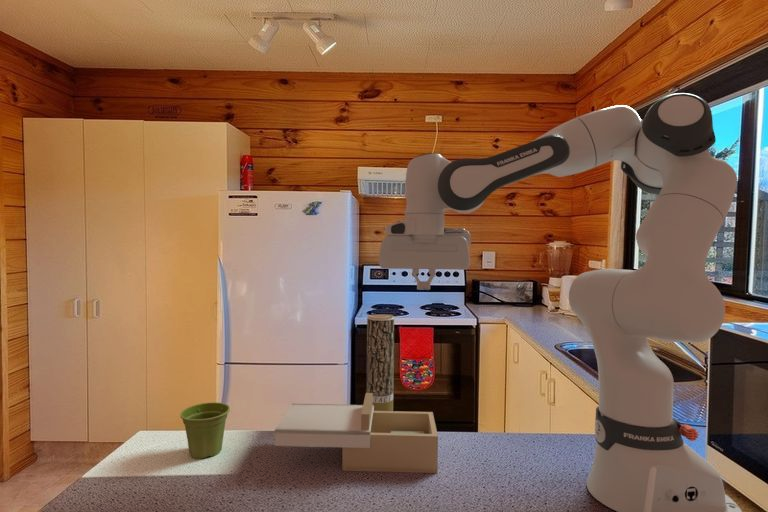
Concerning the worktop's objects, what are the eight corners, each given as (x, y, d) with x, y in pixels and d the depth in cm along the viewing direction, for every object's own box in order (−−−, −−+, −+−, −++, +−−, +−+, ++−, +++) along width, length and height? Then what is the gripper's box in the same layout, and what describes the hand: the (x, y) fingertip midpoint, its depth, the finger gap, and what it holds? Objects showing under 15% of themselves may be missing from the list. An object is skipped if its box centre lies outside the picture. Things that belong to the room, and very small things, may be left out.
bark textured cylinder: (367, 409, 114) (368, 314, 113) (393, 409, 113) (394, 314, 113) (365, 419, 107) (366, 318, 107) (392, 420, 107) (393, 318, 106)
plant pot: (212, 465, 84) (213, 421, 84) (169, 460, 86) (169, 417, 85) (238, 444, 93) (238, 404, 93) (199, 440, 95) (199, 400, 95)
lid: (373, 418, 95) (374, 391, 95) (369, 447, 81) (370, 416, 81) (292, 417, 96) (292, 389, 95) (274, 445, 82) (274, 414, 82)
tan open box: (432, 444, 94) (432, 412, 94) (437, 473, 82) (437, 436, 82) (349, 442, 94) (349, 410, 94) (342, 470, 82) (342, 434, 82)
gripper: (468, 228, 100) (467, 288, 100) (379, 227, 100) (379, 287, 101) (473, 227, 93) (472, 291, 94) (378, 226, 94) (378, 290, 94)
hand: (423, 289), depth 97 cm, fingers closed
